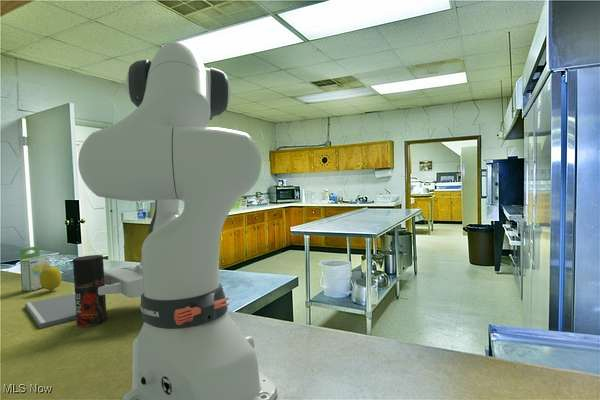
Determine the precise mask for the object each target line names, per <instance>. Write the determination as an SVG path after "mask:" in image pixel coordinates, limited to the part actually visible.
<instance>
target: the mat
mask: <svg viewBox="0 0 600 400" xmlns="http://www.w3.org/2000/svg"><path fill="white" fill-rule="evenodd" d="M24 307H25V309H26V310H27V313H28V314H29V315H30V316H31V317H33V318H32V319H33V320H34V322H35V324H36V325H37V326H38V328H39V329H44V328H47V327H52V326H55V325H58V324H63V323H68V322H70V321H75V320H77V318H76V302H75V292H72V293H69V294H65V295H59V296H55V297H50V298H44V299H39V300H37V301H32V302H30V301H28V302H26V303H24Z"/></svg>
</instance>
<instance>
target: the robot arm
mask: <svg viewBox="0 0 600 400" xmlns="http://www.w3.org/2000/svg"><path fill="white" fill-rule="evenodd" d="M228 79H229V78H228V75H227V74H226V73H225V72H224V71H222V70H220V69H217V68H214V67H210V68H208V67H206V66H205V64H204V61H203V60H202V57H201V56H200V54H199V52H198V51H196V49H195V48H193V47H192V46H190V45H188V44H186V43H183V42H181V41H180V42H175V41H173V42H169V43H166V44H164V45H162V46H161V47H160V48H159V49H158V50H157V52H156V53H155V55H154V56H153V59H152V60H149V59H143V60H142V59H141V60H136V61H134V62H133V63H132V64H131V65H129V68H128V71H127V74H126V78H125V86H126V87H125V88H126V92H127V94H128V96H129V98H130V101H131V102H132V104H133V105H134V106H136V108H135V110H133V111H132V112H131V113H130V114H129V115H127V116H126V117H124V118H123V119H121V120H120V121H118V122H116V123H114V124H112V125H110V126H107V127H105V128H102V129H100V130H99V129H98V130H96V131H93V132H92V133H91V134H89V136H88V135H87V137H86V139H85V140H84V141H83V144H81V147H80V149H79V152H78V161H77V163H78V164H77V165H78V171H79V173H80V176H81V179H82V181H83V183H84V184H85V185H86V187H87V188H88V189H89V191H91V192H92V193H93V194H94V195H95V196H97V197H98V198H105V199H111V200H117V201H127V202H143V201H144V202H145V201H155V204H154V205H155V206H154V213H153V216H152V219H151V221H150V223H149V226H148V235H147V237H145V239H144V241H143V243H142V245H141V261H140V262H139V264H138V265H135V266H131V265H129V266H128V265H127V266H119V267H112V268H106V269H104V282H105V285H103V286H98V287H97V294H99V295H105V296H106V295H113V294H122V295H123V296H124V297H127V298H139V297H140V303H139V308H140V309H139V310H140V313H141V315H140V316H141V321H143V322H142V323H143V324H142V326H141V329H140V331H139V332H138V334H137V336H136V337H135V338H134V340H133V342H132V367H131V368H132V369H131V370H132V371H131V372H132V374H131V375H132V377H131V378H132V382H131V383H132V384H131V385H132V386H131V388H130V390H128V391H127V392H126V393H125V394H124V395H123V396H122V398H121V399H122V400H275V399H276V397H277V395H278V389H277V385H276V384H275V383H274V382H273V381H272V380H271V379H269V378H268V377H267V376H266V375H265V374H264V373H263V372H262V371H261V370H259V364H258V357H257V353H256V351H255V342H254V339H253V337H252V336H251V335H246V336H244V334H243V332H242V331H241V329H240V328H239V327H238V325H237V323H236V322H235V321H234V320H233V319H232V318H231V316H230V313H229V312H228V309H229V307H228V306H229V305H230V303H229V302H228V303H227V301H228V300H230V297H226V293H225V292H224V288H223V285H222V284H221V283H220V267H219V266H220V264H219V263H220V261H219V259H220V258H219V257H220V241H221V240H220V239H221V234H222V230H223V227H224V225H225V222H226V219H227V217H228V216H229V214H230V212H231V211H232V209H233V207H234V206H235V205H236V204H237V202H238V201H240V199H241V198H242V197H244V196H245V195H246V194H247V193H248V192H250V191H251V190H252V189H253V187H255V185H256V183H257V182H258V179H259V177H260V174H261V170H262V157H261V153H260V150H259V147H258V145H257V143H256V141H255V140H254V139H253V138H252V136H251V135H249V134H248V133H247V132H244V131H240V130H236V129H230V128H225V127H219V126H218V127H217V126H215V127H213V126H208V124H209V122H210V121H211V120H213V118H214V117H217V116H220V115H222V114H223V113H224V112H225V111H226V110H227V109H228V106H229V104H230V100H231V97H232V91H231V90H232V89H231V85H230V82H229V80H228ZM180 201H182V202H183V210H182V212H181V214H180V211H179V210H180V209H179V207H180Z"/></svg>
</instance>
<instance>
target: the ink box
mask: <svg viewBox="0 0 600 400" xmlns="http://www.w3.org/2000/svg"><path fill="white" fill-rule="evenodd" d="M29 251H34V252H30V253H27V252H29ZM40 252H41V251H40V245H35V246H30V247H25V248H24V247H23V248H20V249H19V264H20V277H21V279H20V280H21V282H20V283H21V291H22V292H29V291H31V292H33V291H32V290H35V289H38V288H41V289H43V288H42V286H41V284H40V275H41V272H42V271H43V270H44V269H45V268H47V267H48V266H51V259H50V258H51V257H50V256H49V255H41V253H40ZM25 253H26V254H25ZM38 290H39V289H38ZM35 291H36V290H35Z"/></svg>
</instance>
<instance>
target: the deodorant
mask: <svg viewBox="0 0 600 400" xmlns="http://www.w3.org/2000/svg"><path fill="white" fill-rule="evenodd" d="M104 265H105V264H104V255H103V254H91V255H83V256H77V257H74V258H73V259H72V266H73V281H74V282H73V284H74V293H75V302H76V318H77V319H76V326H77V327H79V328H88V327H94V326H97V325H100V324H103V323H104V322H106V321H107V319H108V317H107V316H108V315H107V301H106V294H105V295H99V294H97V287H98V286H103V285H105V282H104V270H105V269H104V267H105V266H104Z"/></svg>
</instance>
